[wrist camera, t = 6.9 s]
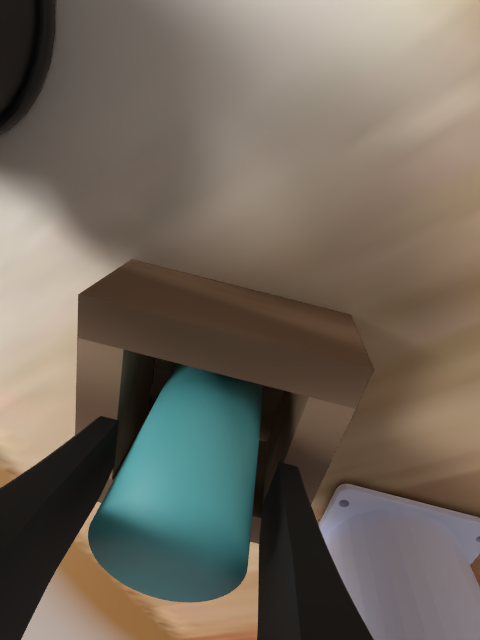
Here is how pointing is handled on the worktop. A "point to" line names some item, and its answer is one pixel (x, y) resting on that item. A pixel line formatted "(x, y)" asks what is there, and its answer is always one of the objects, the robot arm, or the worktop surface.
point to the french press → (23, 55)
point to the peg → (185, 491)
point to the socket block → (220, 361)
